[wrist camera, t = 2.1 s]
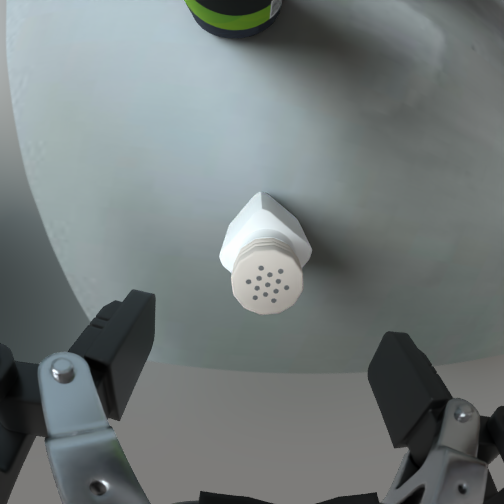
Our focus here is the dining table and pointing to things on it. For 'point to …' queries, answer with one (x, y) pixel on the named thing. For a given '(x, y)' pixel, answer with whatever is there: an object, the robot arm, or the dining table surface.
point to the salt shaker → (265, 256)
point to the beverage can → (234, 16)
